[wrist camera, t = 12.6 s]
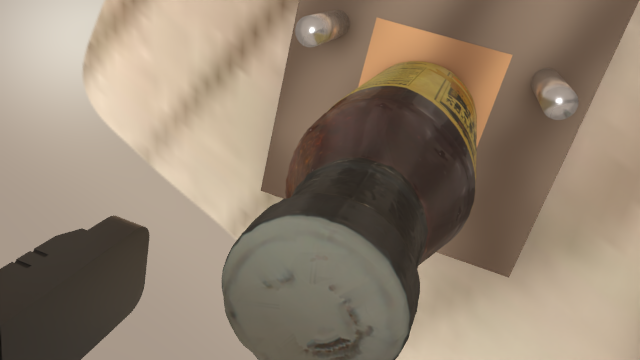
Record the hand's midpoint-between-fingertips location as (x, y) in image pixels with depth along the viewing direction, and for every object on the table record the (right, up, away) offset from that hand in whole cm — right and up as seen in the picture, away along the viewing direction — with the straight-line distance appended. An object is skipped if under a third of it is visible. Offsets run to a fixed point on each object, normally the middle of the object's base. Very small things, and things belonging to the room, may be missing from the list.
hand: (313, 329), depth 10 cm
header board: (+6, +7, +19) cm, 21 cm away
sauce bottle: (+6, +7, +18) cm, 20 cm away
